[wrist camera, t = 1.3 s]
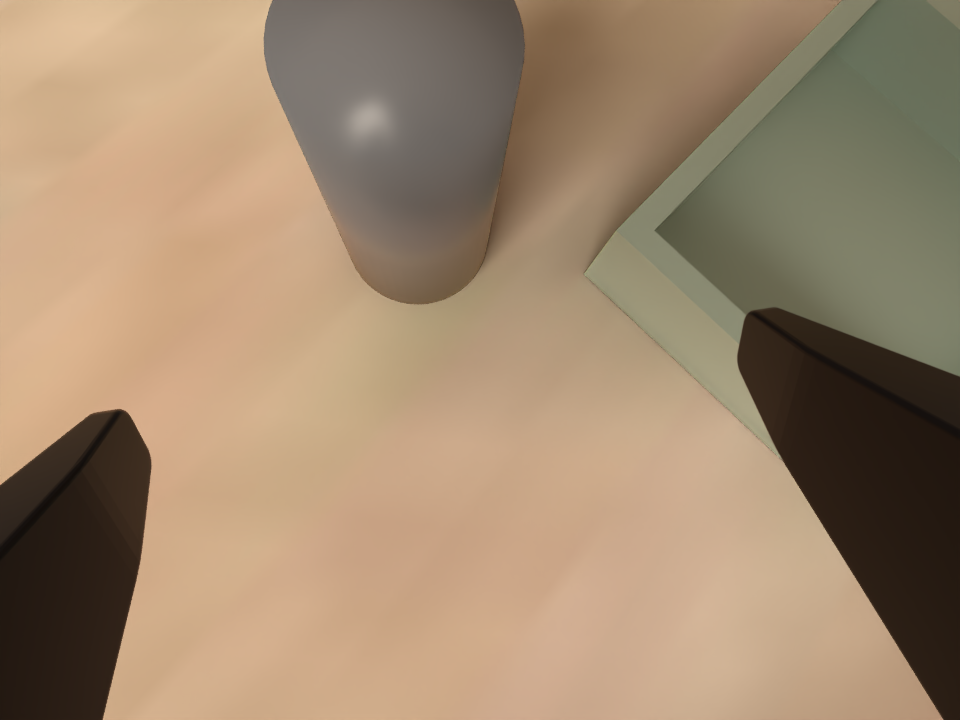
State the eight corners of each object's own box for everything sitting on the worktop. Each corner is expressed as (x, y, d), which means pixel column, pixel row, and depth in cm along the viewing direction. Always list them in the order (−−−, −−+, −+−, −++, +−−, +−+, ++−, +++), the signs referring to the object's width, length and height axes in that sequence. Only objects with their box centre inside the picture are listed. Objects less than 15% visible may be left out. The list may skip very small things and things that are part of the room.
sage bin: (1089, 273, 25) (1230, 232, 20) (870, 543, 23) (974, 562, 18) (816, 35, 26) (895, -54, 21) (583, 274, 24) (615, 230, 19)
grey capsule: (516, 236, 24) (577, 44, 13) (418, 332, 23) (394, 216, 12) (417, 144, 24) (395, -120, 13) (318, 235, 23) (207, 37, 12)
